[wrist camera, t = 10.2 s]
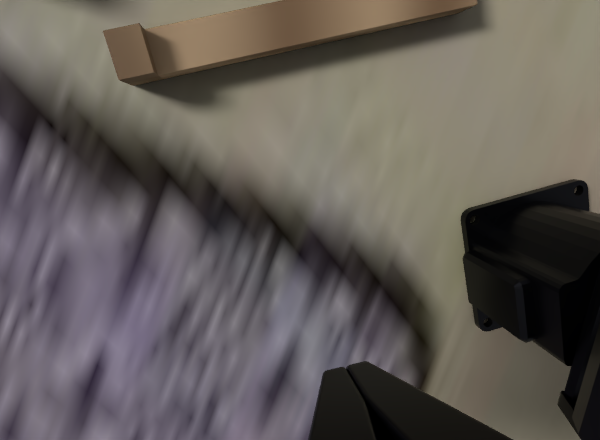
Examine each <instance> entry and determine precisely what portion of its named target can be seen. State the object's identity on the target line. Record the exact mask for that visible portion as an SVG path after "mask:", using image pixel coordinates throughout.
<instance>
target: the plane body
mask: <svg viewBox="0 0 600 440" xmlns="http://www.w3.org/2000/svg"><path fill="white" fill-rule="evenodd" d="M475 5H477V0H282V1H277V2H272V3H268V4H263V5H258V6H253V7H249V8H244V9H239V10H234V11H230V12H225V13H220V14H215V15H210V16H206V17H201V18H196V19H191V20H187V21H182V22H177V23H172V24H168V25H163V26H158V27H153V28H148V29H144V28H143V27H142V26H141V25H140V24H139V23H138V24H133V25H128V26H124V27H119V28H114V29H109V30H104V31H103V33H104V36H105V39H106V42H107V45H108V48H109V51H110V54H111V57H112V60H113V64H114V67H115V70H116V73H117V76H118V79H119V80H120V81H122V82H125V83H128V84H130V85H133V86H135V85H139V84H144V83H148V82H153V81H157V80H162V79H166V78H171V77H175V76H180V75H184V74H189V73H193V72H198V71H202V70H207V69H211V68H216V67H220V66H224V65H229V64H233V63H238V62H242V61H247V60H251V59H256V58H260V57H265V56H269V55H274V54H278V53H283V52H287V51H292V50H296V49H301V48H305V47H310V46H314V45H318V44H323V43H327V42H332V41H336V40H341V39H345V38H350V37H354V36H359V35H363V34H368V33H372V32H377V31H381V30H386V29H390V28H395V27H399V26H404V25H408V24H412V23H417V22H421V21H426V20H430V19H435V18H439V17H444V16H448V15H453V14H457V13H460V12H462V11H464V10H466V9H468V8H471V7H473V6H475Z"/></svg>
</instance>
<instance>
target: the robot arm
mask: <svg viewBox="0 0 600 440" xmlns="http://www.w3.org/2000/svg"><path fill="white" fill-rule="evenodd" d="M576 187H577V191H576V192H575V193H574V189H575V188H576ZM473 215H475V220H474V222H472V223H471V222H470V218H471V217H472V216H473ZM461 226H462V233H463V240H464V248H465V254H464V256H463V264H464V271H465V278H466V285H467V292H468V300H469V302H470V303H471V304H472V306H473V313H474V321H475V324H476V325H477V326H478V327H479V328H480V329H481V330H482V331H491V330H494V329H498V328H501V327H503V328H505V329H506V330H507V331H509V332H510V333H511V334H513V335H514V336H516V337H517V338H518V339H520V340H522V341H523V342H526V343H527V342H530V341H533V342H535V343H536V344H537V345H539V346H540V347H542V348H543V349H544V350H546V351H547V352H549V353H550V354H551V355H553V356H554V357H556V358H557V359H558V360H560V361H561V362H563V363H564V364H565V365H567V366H571V370H570V373H569V377H568V380H567V384H566V387H565V391H561V393H560V397H559V400H558V406H559V407H560V409H561V410H562V412H563V413H564V415H565V416H566V418H567V419H568V421H569V422H570V424H571V425H572V427H573V428H574V430H575V431H576V433H577V434H578V436H579V437H580V439H581V440H600V214H597V213H593V212H589V199H588V187H587V184H586V183H585V182H584V181H582V180H576V179H573V180H568V181H565V182H561V183H558V184H554V185H550V186H547V187H543V188H540V189H536V190H532V191H529V192H525V193H522V194H518V195H514V196H511V197H507V198H504V199H500V200H496V201H493V202H489V203H486V204H482V205H478V206H475V207H471V208H468V209H466V210H465V211H464V212H463V213H462V216H461ZM486 318H488V320H487V322H486V323H484V320H485V319H486ZM308 440H513V439H511V438H509V437H507V436H505V435H503V434H501V433H500V432H498V431H496V430H494V429H492V428H490V427H488V426H487V425H485V424H483V423H481V422H479V421H477V420H475V419H474V418H472V417H470V416H468V415H466V414H464V413H462V412H461V411H459V410H457V409H455V408H453V407H451V406H449V405H448V404H446V403H444V402H442V401H440V400H438V399H436V398H434V397H433V396H431V395H429V394H427V393H425V392H423V391H421V390H420V389H418V388H416V387H414V386H412V385H410V384H408V383H407V382H405V381H403V380H401V379H399V378H397V377H395V376H394V375H392V374H390V373H388V372H386V371H384V370H382V369H380V368H379V367H377V366H375V365H373V364H371V363H369V362H367V361H364V362H360V363H356V364H352V365H348V366H347V367H346V369H345V368H344V367H339V368H335V369H331V370H327V371H325V372H324V373H323V376H322V381H321V385H320V389H319V394H318V398H317V403H316V407H315V411H314V416H313V420H312V425H311V429H310V434H309V438H308Z"/></svg>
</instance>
